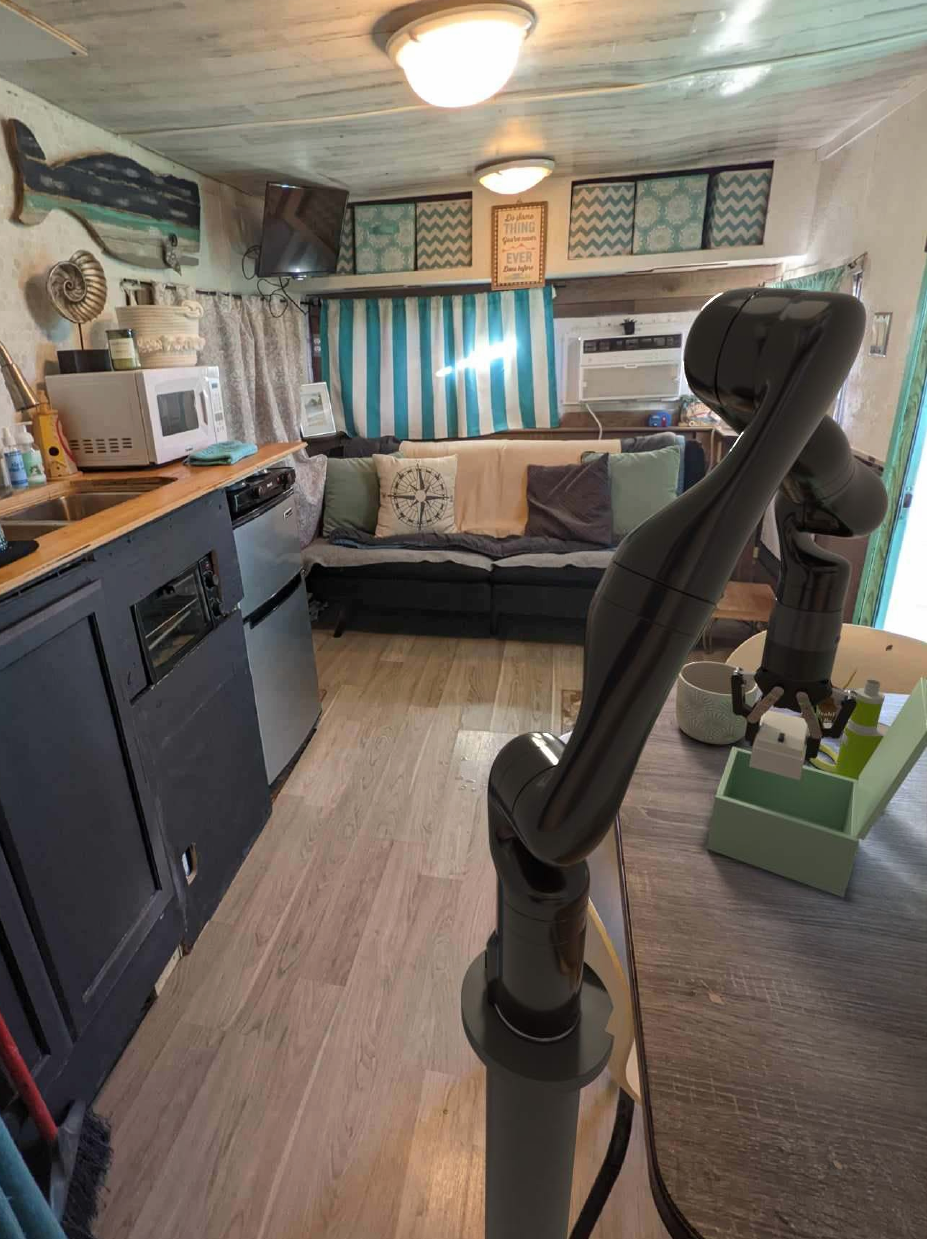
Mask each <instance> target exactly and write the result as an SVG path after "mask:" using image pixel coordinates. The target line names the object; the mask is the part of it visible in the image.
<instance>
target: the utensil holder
mask: <svg viewBox="0 0 927 1239" xmlns="http://www.w3.org/2000/svg"><path fill="white" fill-rule="evenodd" d="M857 669H858V667H855V668H854V670H853V671H852V673H851V674H850V676H849V677H848V679H847V680H846V682H845V684H844V686H843V687H842V689H841V688H839V687H837V686H835V685H833V688H836V689H839V690H842V691H845V690H846V689H847V687H848V686H849V685H850V683H851V682H852V680H853V678H854V677H855V675H856V674H857ZM817 706H818V709H819V714H820V717H821V720H822V723H830V722H831V720H832V718H833V717H834V715H835V713H836V711H837V709H838V708H836V707H835V706H834V699H833V698H832V697H829V698H828V699H826V700H825V701H823V702H822V703H820V704H818V705H817ZM800 718H804V716H803V713H802V712H801V716H800Z"/></svg>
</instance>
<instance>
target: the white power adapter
mask: <svg viewBox="0 0 927 1239" xmlns="http://www.w3.org/2000/svg"><path fill="white" fill-rule="evenodd" d="M808 733H809V728H808V725H807V723H806V722H805V719H804V718H801V716H795V715H791V714H788V713H787V714H786V713H782V712H778V711H773V710H770V709H769V710H768V711H767V712H766V713H764V714H763V715H762V716H761V720H760V726H759V729H758V732H757V734H756V738H755V741H754V744H753V747H751V752H752V753H751V759H750V764H749V766H750V767H753V768H757V769H760V770H764V771H768V772H771V773H775V774H778V775H782V776H786V777H789V778H793V779H796V780H800V778H801V773H802V768H803V766H804V763H805V761H804V758H805V753H806V747H807V745H806V744H807V738H808Z"/></svg>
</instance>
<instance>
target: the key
mask: <svg viewBox="0 0 927 1239" xmlns="http://www.w3.org/2000/svg"><path fill="white" fill-rule="evenodd" d="M819 751H821V752H823V753H825V754H827V756H829V757H830V758H831V759H832V760H833V761H834V763H835V764H833V763H829V762H826V761H824V760H823V759H821V758H820V757H819V756H817V757H816V758H815V759H813V758H810V761H809V762H811V764H813V765H814V766H815V767H817V768H819V770H822V771H826V772H829V773H834V770H835V766H836V762H837V758H838V753H837V752H836V751H834V749H832V748H831V747H829V746H828V745H826V744H824V743H822V742H820V747H819Z"/></svg>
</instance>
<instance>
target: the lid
mask: <svg viewBox="0 0 927 1239" xmlns="http://www.w3.org/2000/svg"><path fill="white" fill-rule="evenodd" d="M889 726H890V728H889V729H888V731H887V732H886V734H885V735H884V737H883V739H882V740H881V742H880V743H879V745H878V747H877V748H876V750H875V751H874V753H873V755H872V756H871V758H870V759H869V761H868V763H867V764H866V766H865V767H864V769H863V771H862V772H861V774H860V775H859V783H858V806H857V830H856V837H858V838H859V840H861V841H864V840H865V839H866V837H867V836H868V835H869V833H870V832H871V831H872V829H873V827H874V826H875V824H876V823H877V822H878V820H879V818H880V817H881V815H882V814H883V812H884V811H885V810H886V809H887V807H888V805H889V803H890V802H891V801H892V799H893V798H894V796H895V795H896V793H897V792H898V791H899V789H900V787H901V786H902V785H903V783H904V781H905V780H906V779H907V777H908V776H909V774H910V773H911V771H912V769H913V768H914V767H915V765H916V763H917V762H918V760H919V759H920V758H921V756H922V755H923V753H924V752H925V751H926V749H927V678H924V677H920V678H919V680H918V681H917V683H916V685H915V686H914V688H913V689H912V691H911V692H910V694H909V696H908V697H907V699H906V700H905V702H904V703H903V705H902V706H901V709H900V710H899V711H898V713H897V714H896V717H895V718H894V719H893V721H892V722H891V724H890V725H889Z"/></svg>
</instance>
